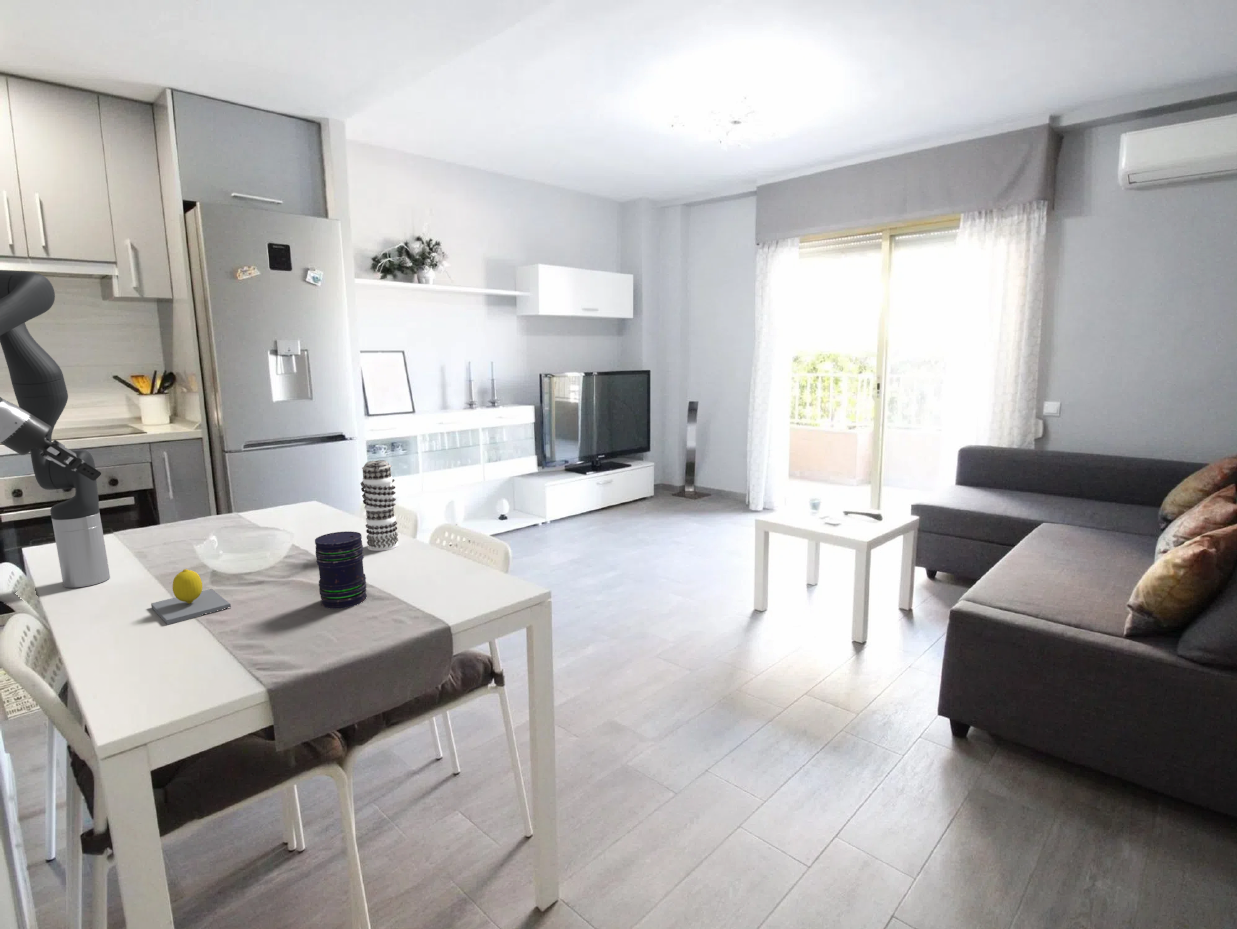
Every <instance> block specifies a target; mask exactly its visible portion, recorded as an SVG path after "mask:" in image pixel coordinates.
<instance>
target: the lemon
mask: <svg viewBox="0 0 1237 929" xmlns="http://www.w3.org/2000/svg"><path fill="white" fill-rule="evenodd" d="M202 591H203V582H202V578H201V577H200V575H199V574H198V572H196V571H194V570H191V569H190V570H189V569H187V568H185V569H183V570H182V571H180V572H178V573H177V574H176V575H175V577H174V578H173V581H172V593H173V594H174V596H175V597H176V598H177V599H178V600H180V601H183V602H187V603H188V604H190V603H192V602H193V601H194V600H195V599H197V598H198V597H199V596H200V594H201V592H202ZM175 597H174V598H175Z"/></svg>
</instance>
